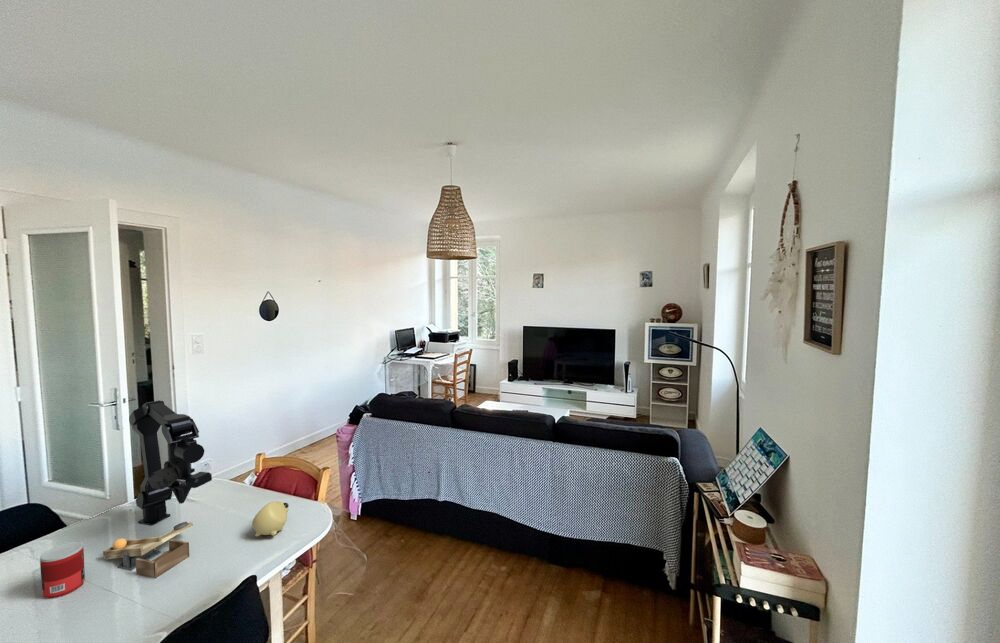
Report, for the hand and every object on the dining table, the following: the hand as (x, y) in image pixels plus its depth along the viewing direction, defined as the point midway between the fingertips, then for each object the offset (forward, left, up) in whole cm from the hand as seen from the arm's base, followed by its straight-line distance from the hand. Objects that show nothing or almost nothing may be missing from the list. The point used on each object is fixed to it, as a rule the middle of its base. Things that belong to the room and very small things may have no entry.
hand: (181, 503), depth 132 cm
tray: (+6, -11, -13) cm, 18 cm away
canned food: (-10, -25, -13) cm, 30 cm away
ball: (-10, -11, -9) cm, 18 cm away
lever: (-5, -6, -10) cm, 13 cm away
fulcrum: (-3, -11, -13) cm, 17 cm away
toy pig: (+24, +11, -13) cm, 29 cm away
